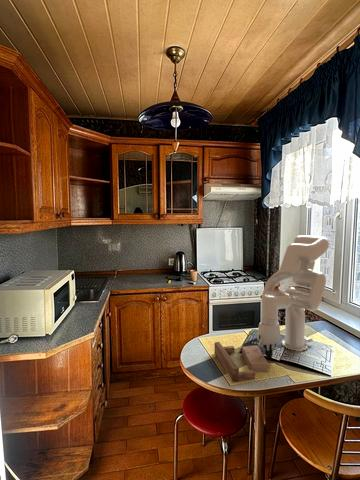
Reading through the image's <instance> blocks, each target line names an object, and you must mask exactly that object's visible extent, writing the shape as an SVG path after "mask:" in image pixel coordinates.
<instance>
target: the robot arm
mask: <svg viewBox="0 0 360 480" xmlns="http://www.w3.org/2000/svg"><path fill="white" fill-rule="evenodd" d="M329 246H330V242H329V240H328V238H327V237H325V236H322V235H321V236H319V235H317V236H316V235H297V236H296V237H295V238H294V240H293V243H290V244H288V246H286V247H287V248H286V250H285V253H284V255H283V259H282V261H281V264H280V267H279V268H278V270H277V271H276V272H275V273H273V274H272V275H271V276H270V277H269V278H268V279H267V280H266V282H265V285H264V287H263V290H262V296H261V321H260V322H259V324H258V328H257V338H256V339H257V342H258V344H257V346H258V347H259V348H264V351H265V352H264V354H265V355H264V356H265V357H267V359H273V352H274V350H275V348H276V346H279V345H280V343H281V345H282V347H284V346H285V347H286V348H285V347H284V348H285V349H287V348H288V349H287V350H289V349H291V350H290V351H292V350H296V351H295V352H304V351H303V350H305V351H306V349H307V350H308V343H311V342H313V341H314V340H313V338H312V337H309V338H308V336H306V335H305V333H306V313H305V311H304V310H308V311H311V312H315V311H317V310H318V309H319V307H320V306H321V303H322V299H323V295H324V292H325V288H326V284H327V277H326V275H325V274H324V272H322V271H319V270H314V269H315V264H316V260H318V259H319V258H320V257H321V256H323V255H324V254H326V252H327V251H328V248H329ZM288 279H292V283H293V284H294V285H296V286H298V287H293V286H290V287H287V288H286V289H284V290H285V291H284V292H283V291H280V290H276V289H275V288H276V286H277V285H278V284H279V283H280V282H282V281H284V280H288ZM299 287H301V288H299ZM304 288H306V289H304ZM307 289H310V290H307ZM279 310H285V323H284V324H285V325H284V326H285V327H284V329H285V330H284V332H285V333H284V339H283V340H282V341H281V325H280V323H279V321H280V320H281V317H280V316H279Z"/></svg>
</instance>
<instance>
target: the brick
mask: <svg viewBox="0 0 360 480" xmlns="http://www.w3.org/2000/svg"><path fill="white" fill-rule="evenodd" d="M260 348H261V347H260V346H259V345H245V346H242V348H241V355H242V357H243V359H244V362H245V363H246V365H247V366H248V368H249V370H254V372H255V374H257V373H262V374H263V373H265V374H266V373H269V369H270V367H269V365H270V364H269V362H268V360H267V359H266V358H265V357H266V356H265V355H264V354H263V352H262V351H261V349H260Z"/></svg>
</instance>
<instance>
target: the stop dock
mask: <svg viewBox="0 0 360 480" xmlns="http://www.w3.org/2000/svg"><path fill="white" fill-rule="evenodd" d="M231 354H235V347H234V345H230V346H223V345H222V343H221V342H220V341H217V342H214V355H215V356H216V358H217V359H218V361H219V363H220V364H221V366H222V367H223V369H224V370H225V372H226V374H227V375H228V377H229V378H230V380H231V381H232V383H239V382H245V381H246V382H247V381H251V380H255V379H256V373H255V372H254V370H250V369H249V370H244V371H243V370H242V371H240V368H239V366H238V365H237V364H236V363H235V361H234V360H233V358H232V357H231Z"/></svg>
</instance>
